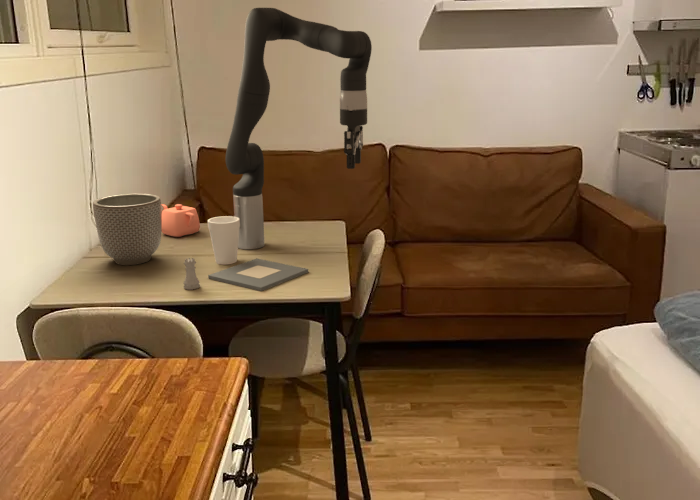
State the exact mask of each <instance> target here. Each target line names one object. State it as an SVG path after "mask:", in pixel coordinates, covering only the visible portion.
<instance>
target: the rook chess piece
mask: <svg viewBox="0 0 700 500" xmlns="http://www.w3.org/2000/svg"><path fill="white" fill-rule="evenodd" d="M183 264H184V265H185V268H184V270H185V278H184V280H183V286H182V287H183V288H184V289H185V290H188V291H189V290H190V291H193V289H194V290H197V289H199V288H200V287H201V284H200V283H201V282H200V280H199V279H198V277H197V274H196V266H195V265H196V264H197V260H196V259H195V258H193V257H191V258H190V257H188V258H185V259H184V262H183Z"/></svg>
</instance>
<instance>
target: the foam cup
mask: <svg viewBox="0 0 700 500" xmlns="http://www.w3.org/2000/svg"><path fill="white" fill-rule="evenodd" d="M239 227H240V219H239V218H238V217H234V215H233V216H232V215H228V216H227V215H225V216H224V215H223V216H221V215H220V216H215V217H211V218H209V219H207V229H208V231H209V236H210V240H211V245H212V246H211V247H212V250H213V254H214V260H215V263H216V264H217V265H232V264H235V263H237V261H238V253H239V251H238V250H239V248H238V239H239Z"/></svg>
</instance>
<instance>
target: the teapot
mask: <svg viewBox="0 0 700 500" xmlns="http://www.w3.org/2000/svg"><path fill="white" fill-rule="evenodd" d="M161 208H162V210H161V216H162V232H161V234H164V235H167V236H171V237H178V238H181V237H183V236H189V235H193V234H194V233H197V232H199V231H200V228H201V225H200V218H199V214H198V212H197V209H196V208H195V207H190V206H187V205H183V204H180V203H177V204H175V205H174V207H170V208H168V205H166V204H163V203H161Z"/></svg>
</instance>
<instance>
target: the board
mask: <svg viewBox="0 0 700 500" xmlns="http://www.w3.org/2000/svg"><path fill="white" fill-rule="evenodd" d="M308 273H309V268H306V267H302V266H301V267H300V266H296V265H291V264H286V263H280V262H276V261H271V260H266V259H262V258H257V257H256V258H254V259H251V260H248V261H246V262H243V263H239V264H236V265H234V266H231V267H228V268H224V269H221V270H220V271H216V272H213V273H211V274H208V277H207V278H209V279H208V280H212V279H213V280H212V281H218V282H222V283H225V284H231V285H233V286H234V285H235V286H239V287H242V288H245V289H250V290H253V291H254V290H255V291H259V292H263V291H265V290H268V289H270V288H272V287H275V286H278V285H280V284H282V283H285V282H287V281H290V280H292V279H295V278H297V277H300V276H303V275H305V274H308Z"/></svg>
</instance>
